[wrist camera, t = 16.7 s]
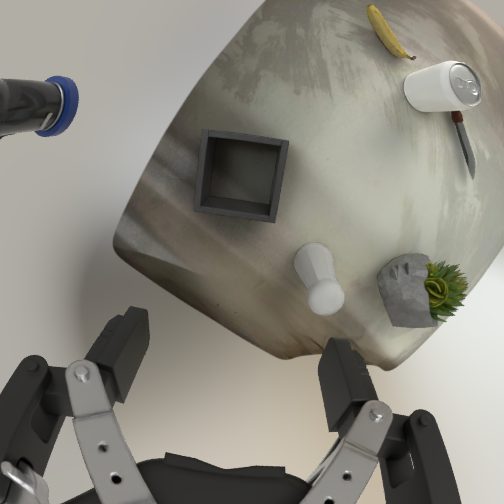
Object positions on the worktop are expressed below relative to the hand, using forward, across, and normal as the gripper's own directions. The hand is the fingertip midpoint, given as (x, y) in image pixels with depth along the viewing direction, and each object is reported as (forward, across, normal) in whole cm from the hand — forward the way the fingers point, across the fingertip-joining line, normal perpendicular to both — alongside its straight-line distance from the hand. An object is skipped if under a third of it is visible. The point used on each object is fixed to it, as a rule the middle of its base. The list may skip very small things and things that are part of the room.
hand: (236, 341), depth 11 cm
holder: (+30, +2, -3) cm, 30 cm away
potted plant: (+29, -28, +7) cm, 41 cm away
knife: (+29, -30, -19) cm, 46 cm away
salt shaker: (+29, -10, +8) cm, 32 cm away
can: (+29, -22, -22) cm, 42 cm away
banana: (+29, -15, -28) cm, 43 cm away
